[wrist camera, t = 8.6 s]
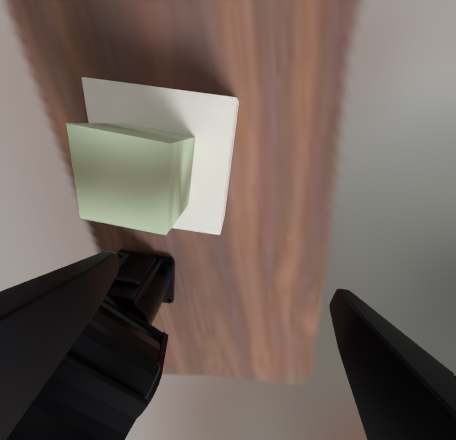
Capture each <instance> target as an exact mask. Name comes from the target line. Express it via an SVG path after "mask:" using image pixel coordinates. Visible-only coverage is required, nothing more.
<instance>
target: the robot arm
mask: <svg viewBox="0 0 456 440" xmlns="http://www.w3.org/2000/svg"><path fill="white" fill-rule="evenodd" d="M120 254H121V255H120ZM169 262H171V264H170V263H169ZM174 282H175V261H174V259H172V258H167V257H161V256H155V255H149V254H142V253H136V252H130V251H124V250H120V251H118V252H117V253H115V252H109V251H104V252H101V253H99V254H96V255H94V256H91V257H89V258H86V259H83V260H81V261H78V262H76V263H73V264H70V265H68V266H65V267H63V268H60V269H57V270H55V271H52V272H50V273H47V274H45V275H42V276H39V277H37V278H34V279H32V280H29V281H26V282H24V283H21V284H19V285H16V286H13V287H11V288H8V289H6V290H3V291H1V292H0V440H125V438H126V436H127V434H128V432H129V431H130V429H131V427H132V426H133V424H134V422H135V420H136V419H137V418H138V417H139V416H140V415H141V414H142V413H143V411H144V410H145V409H146V407H147V406H148V404H149V403H150V401H151V399H152V398H153V396H154V394H155V392H156V390H157V387H158V385H159V382H160V379H161V375H162V371H163V365H164V359H165V353H166V347H167V341H168V334H166V333H165V332H161V331H160V330H158V329H157V328H155V327H154V326H152V323H153V321H154V319H155V316H156V314H157V312H158V310H159V308H160V306H161V304H162V302H165V303H172V302H173V300H174ZM330 313H331V317H332V322H333V327H334V331H335V336H336V341H337V345H338V349H339V352H340V355H341V359H342V362H343V365H344V368H345V371H346V374H347V377H348V381H349V384H350V387H351V390H352V393H353V396H354V399H355V402H356V405H357V408H358V412H359V415H360V418H361V421H362V424H363V427H364V430H365V433H366V437H367V440H456V376H454V374H453V372H451V371H450V370H449V369H447V368H446V367H445V366H444V365H443V364H441V363H440V362H439V361H437V360H436V359H435V358H434V357H432V356H431V355H430V354H429V353H427V352H426V351H425V350H423V349H422V348H421V347H420V346H419V345H417V344H416V343H415V342H414V341H412V340H411V339H410V338H408V337H407V336H406V335H405V334H404V333H402V332H401V331H400V330H398V329H397V328H396V327H395V326H394V325H392V324H391V323H390V322H388V321H387V320H386V319H385V318H383V317H382V316H381V315H379V314H378V313H377V312H376V311H374V310H373V309H372V308H371V307H370V306H368V305H367V304H366V303H364V302H363V301H362V300H361V299H359V298H358V297H357V296H356V295H355V294H353V293H352V292H351V291H349V290H346V289H337V290H336V292H335V294H334V296H333V298H332V300H331V302H330Z"/></svg>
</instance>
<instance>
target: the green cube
mask: <svg viewBox="0 0 456 440" xmlns="http://www.w3.org/2000/svg"><path fill="white" fill-rule="evenodd" d="M66 126H67V133H68V140H69V146H70V153H71V160H72V167H73V174H74V180H75V187H76V194H77V201H78V208H79V215H80V218H81V219H86V220H91V221H96V222H101V223H106V224H111V225H116V226H122V227H127V228H132V229H137V230H142V231H147V232H152V233H157V234H162V235H166V234H167V233H168V232H169V230H170V229H171V228H172V226H173V225H174V224H175V222H176V221H177V219H178V218H179V217H180V215H181V214H182V213H183V211H184V210H185V209H186V207H187V206H188V205H189V195H190V185H191V175H192V165H193V155H194V145H195V137H192V136H187V135H182V134H177V133H171V132H166V131H161V130H156V129H151V128H146V127H141V126H135V125H130V124H125V123H66Z"/></svg>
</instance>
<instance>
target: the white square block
mask: <svg viewBox="0 0 456 440" xmlns="http://www.w3.org/2000/svg"><path fill="white" fill-rule="evenodd" d="M82 84H83V90H84V97H85V103H86V110H87V116H88V123H125V124H130V125H135V126H141V127H146V128H151V129H156V130H161V131H166V132H171V133H177V134H182V135H187V136H192V137H195V145H194V155H193V165H192V175H191V185H190V195H189V205H188V206H187V207H186V209H185V210H184V211H183V213H182V214H181V215H180V217H179V218H178V219H177V221H176V222H175V224H174V225H173V226H172V228H176V229H183V230H190V231H196V232H203V233H210V234H216V235H220V233H221V229H222V225H223V221H224V216H225V208H226V200H227V192H228V184H229V176H230V168H231V160H232V152H233V145H234V137H235V129H236V121H237V113H238V105H239V101H238V99H237V97H230V96H222V95H215V94H207V93H200V92H192V91H184V90H177V89H169V88H162V87H154V86H147V85H139V84H132V83H124V82H117V81H109V80H101V79H94V78H86V77H82Z"/></svg>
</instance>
